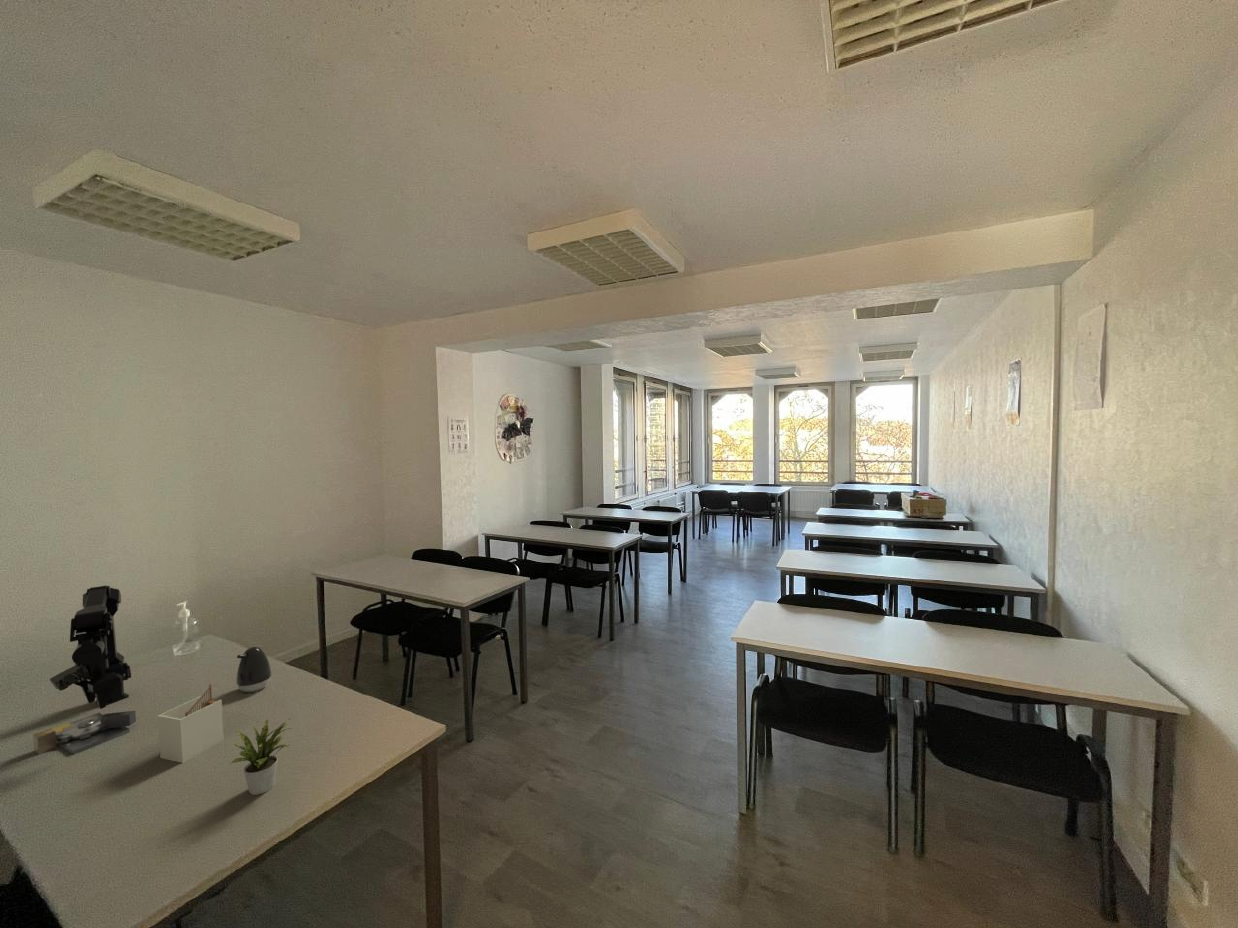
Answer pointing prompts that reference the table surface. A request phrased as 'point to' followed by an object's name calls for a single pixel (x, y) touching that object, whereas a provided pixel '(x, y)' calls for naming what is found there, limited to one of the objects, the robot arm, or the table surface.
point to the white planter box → (190, 728)
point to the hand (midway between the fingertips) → (96, 705)
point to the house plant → (261, 759)
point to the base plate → (93, 740)
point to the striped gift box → (44, 741)
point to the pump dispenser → (253, 670)
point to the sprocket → (95, 725)
